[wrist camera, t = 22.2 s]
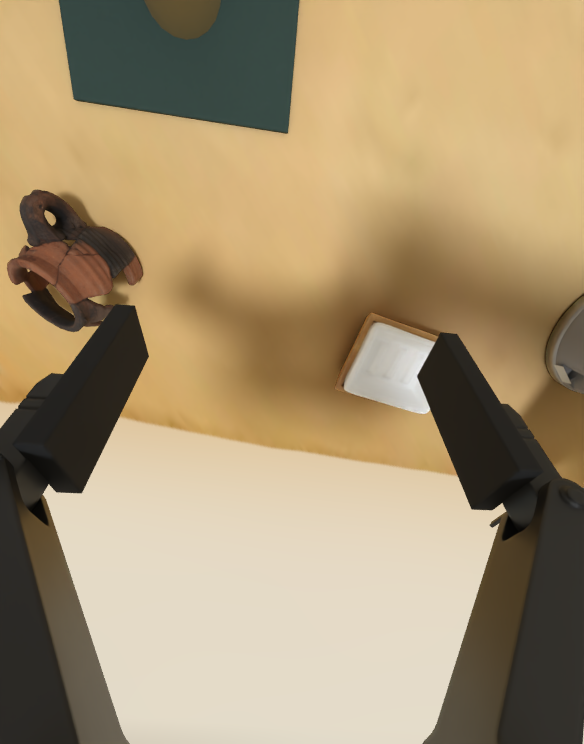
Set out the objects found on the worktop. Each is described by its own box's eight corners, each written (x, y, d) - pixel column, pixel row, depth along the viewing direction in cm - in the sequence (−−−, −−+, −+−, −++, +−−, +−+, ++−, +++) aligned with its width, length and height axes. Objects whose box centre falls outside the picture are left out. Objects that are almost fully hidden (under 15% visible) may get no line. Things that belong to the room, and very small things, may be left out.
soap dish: (450, 335, 39) (474, 351, 34) (411, 400, 43) (428, 421, 38) (360, 303, 36) (374, 316, 32) (328, 375, 40) (336, 395, 36)
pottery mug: (163, 299, 35) (108, 344, 29) (101, 294, 38) (41, 334, 32) (106, 174, 27) (16, 204, 21) (34, 181, 30) (-60, 208, 24)
